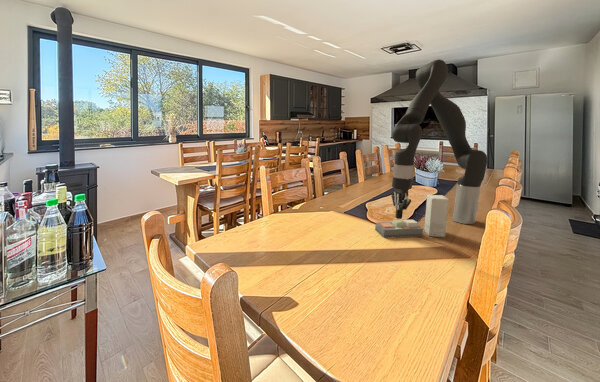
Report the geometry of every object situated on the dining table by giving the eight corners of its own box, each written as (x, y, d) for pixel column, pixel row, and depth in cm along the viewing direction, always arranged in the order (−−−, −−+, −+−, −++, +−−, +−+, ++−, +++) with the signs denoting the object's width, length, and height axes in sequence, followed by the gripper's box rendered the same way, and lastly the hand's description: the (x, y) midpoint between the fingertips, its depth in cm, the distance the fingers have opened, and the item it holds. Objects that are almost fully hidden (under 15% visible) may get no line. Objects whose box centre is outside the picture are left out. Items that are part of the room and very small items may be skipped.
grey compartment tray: (410, 228, 123) (411, 221, 122) (422, 236, 114) (423, 228, 113) (375, 229, 121) (375, 222, 120) (383, 237, 112) (384, 229, 111)
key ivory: (412, 224, 120) (412, 219, 119) (417, 227, 116) (417, 222, 115) (403, 224, 119) (403, 219, 119) (407, 227, 115) (408, 222, 115)
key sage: (400, 224, 119) (401, 219, 119) (405, 227, 115) (406, 222, 115) (391, 224, 119) (392, 220, 118) (396, 227, 115) (396, 223, 114)
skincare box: (445, 237, 113) (450, 199, 110) (427, 236, 114) (431, 198, 111) (439, 230, 121) (443, 194, 118) (422, 229, 122) (426, 193, 119)
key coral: (389, 227, 119) (389, 223, 118) (393, 231, 115) (393, 226, 114) (380, 227, 118) (380, 223, 118) (384, 231, 114) (384, 226, 114)
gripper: (386, 173, 119) (383, 213, 122) (401, 179, 106) (397, 223, 109) (403, 173, 119) (399, 213, 123) (420, 179, 107) (415, 223, 110)
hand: (398, 218), depth 116 cm, fingers closed
